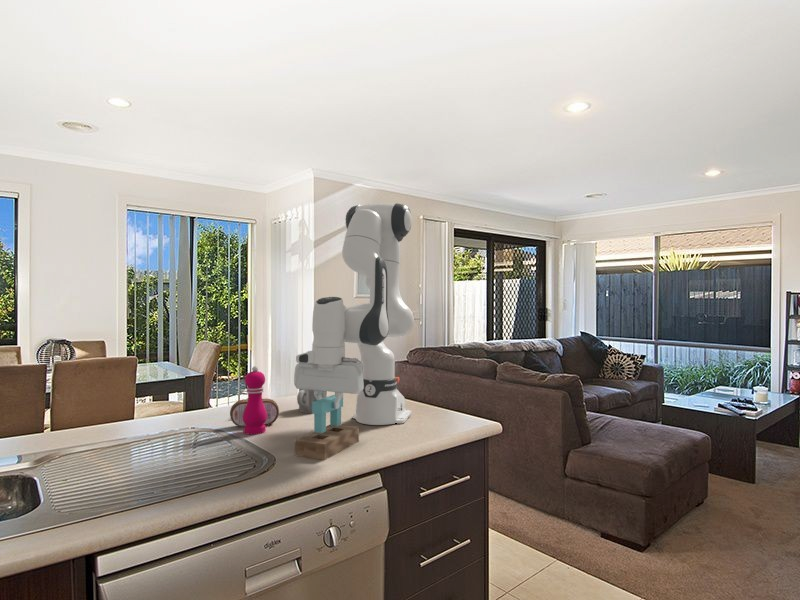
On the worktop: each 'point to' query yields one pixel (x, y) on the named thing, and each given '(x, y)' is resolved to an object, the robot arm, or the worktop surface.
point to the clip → (320, 412)
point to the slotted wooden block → (326, 442)
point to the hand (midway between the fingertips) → (328, 407)
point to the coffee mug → (307, 399)
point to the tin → (240, 406)
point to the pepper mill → (254, 403)
